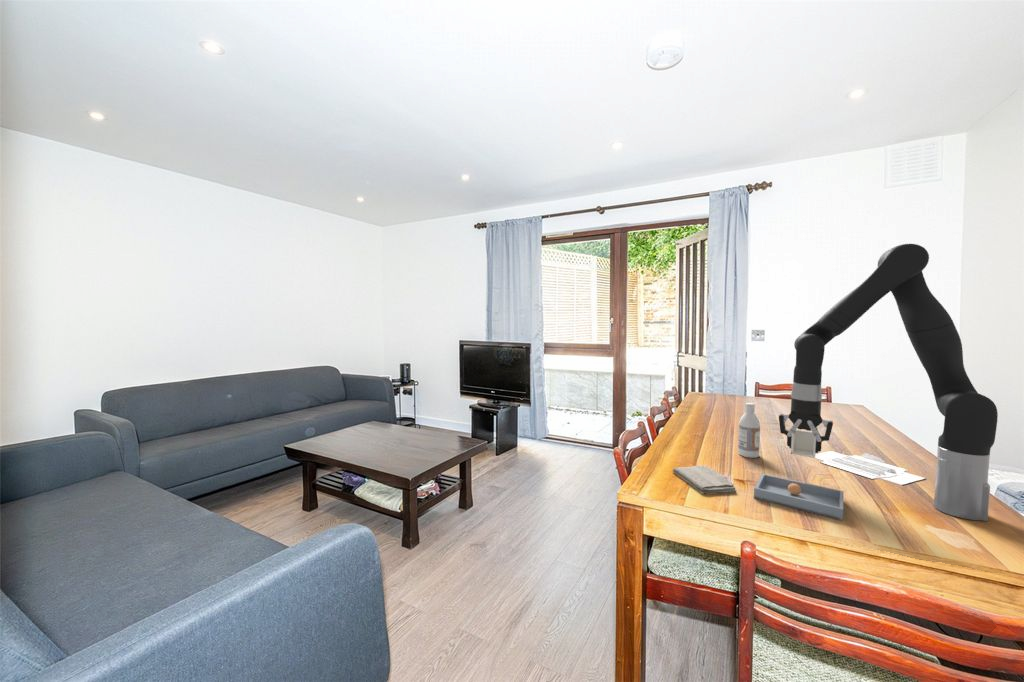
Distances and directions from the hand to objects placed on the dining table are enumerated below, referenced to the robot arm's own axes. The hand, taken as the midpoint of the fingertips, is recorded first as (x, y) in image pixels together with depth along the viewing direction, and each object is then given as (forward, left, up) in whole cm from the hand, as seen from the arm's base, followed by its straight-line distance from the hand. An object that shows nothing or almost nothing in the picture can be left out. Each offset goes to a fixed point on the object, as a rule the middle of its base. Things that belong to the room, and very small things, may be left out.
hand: (803, 449), depth 125 cm
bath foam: (+18, -19, -11) cm, 28 cm away
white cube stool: (0, 0, -1) cm, 1 cm away
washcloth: (+25, +18, -12) cm, 33 cm away
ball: (+1, +12, -9) cm, 15 cm away
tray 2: (-15, -31, -12) cm, 37 cm away
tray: (0, +14, -11) cm, 18 cm away
